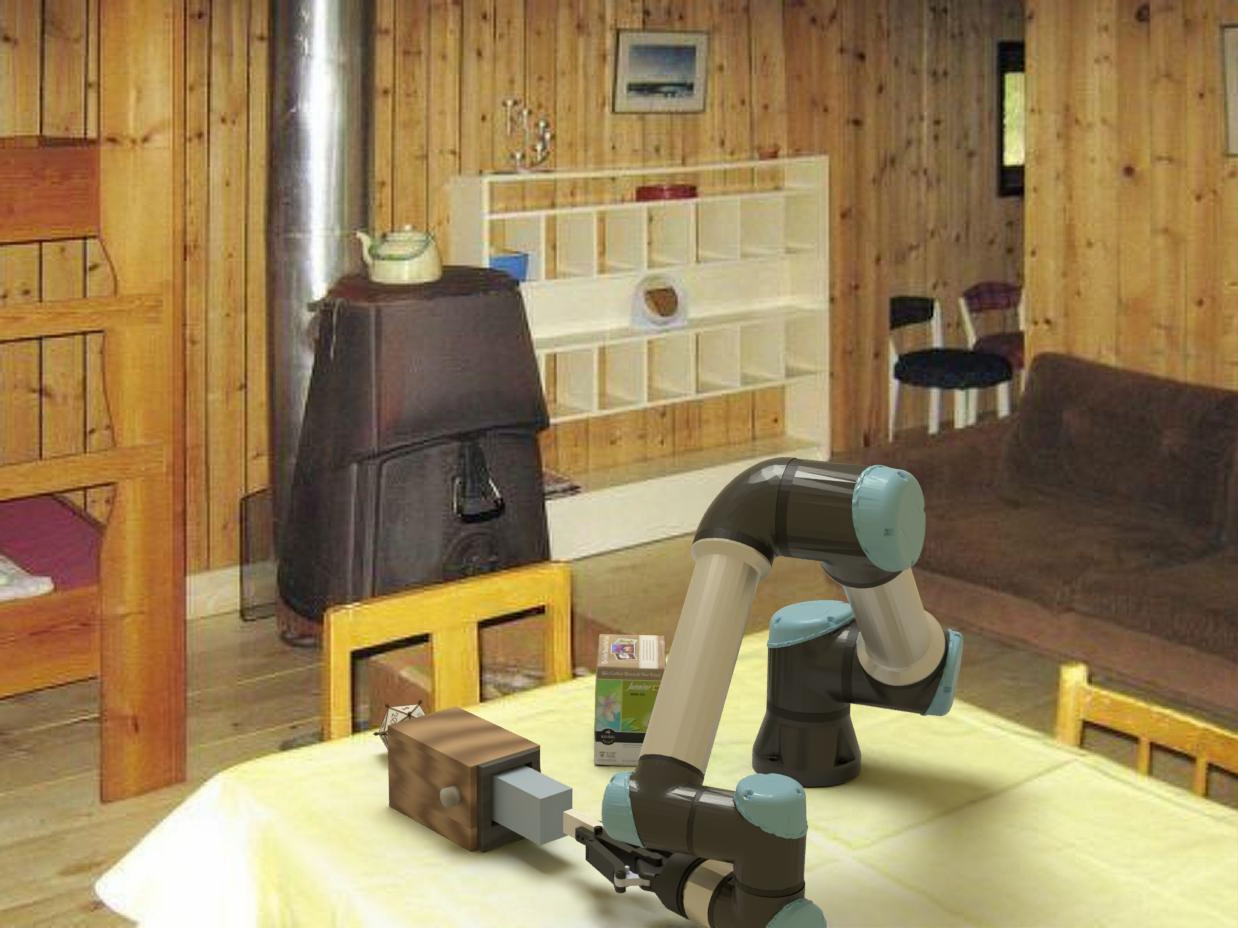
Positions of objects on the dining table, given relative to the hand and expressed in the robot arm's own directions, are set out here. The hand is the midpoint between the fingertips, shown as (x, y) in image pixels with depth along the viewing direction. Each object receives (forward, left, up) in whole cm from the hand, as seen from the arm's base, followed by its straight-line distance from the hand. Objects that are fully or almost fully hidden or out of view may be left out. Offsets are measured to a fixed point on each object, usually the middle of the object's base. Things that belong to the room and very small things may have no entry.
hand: (568, 820), depth 213 cm
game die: (+26, -34, -7) cm, 43 cm away
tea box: (-5, -41, -7) cm, 42 cm away
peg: (+7, -7, -3) cm, 10 cm away
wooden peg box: (+15, -15, -7) cm, 22 cm away
